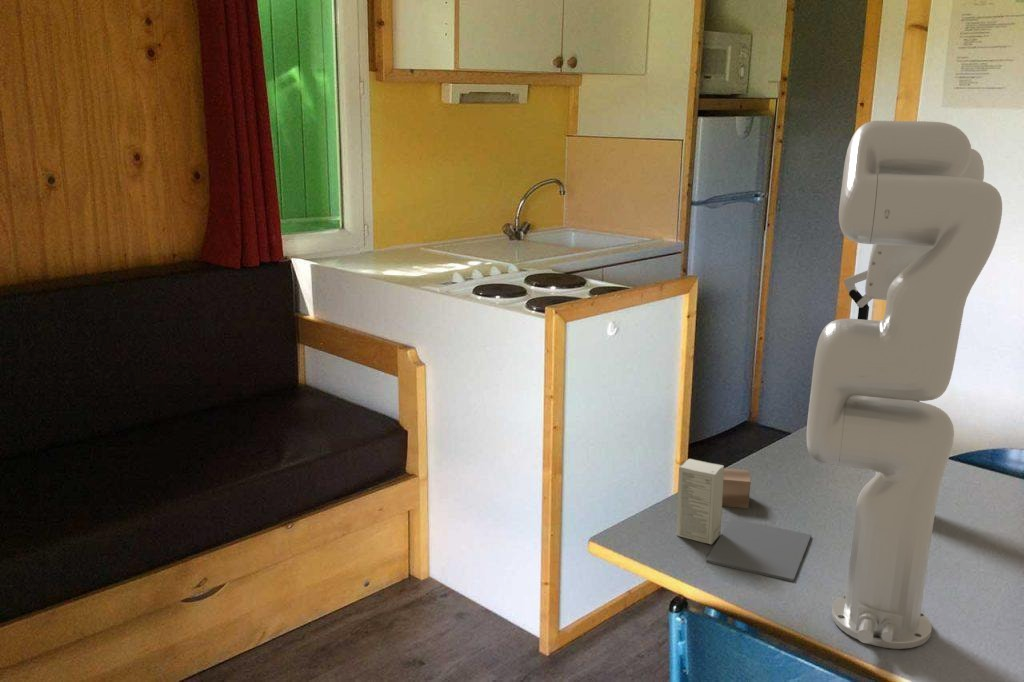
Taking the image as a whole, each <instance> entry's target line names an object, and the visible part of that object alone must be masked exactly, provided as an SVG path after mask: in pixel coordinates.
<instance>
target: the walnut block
mask: <svg viewBox="0 0 1024 682" xmlns="http://www.w3.org/2000/svg"><path fill="white" fill-rule="evenodd" d="M750 493H751V474H750V470H746V469H745V470H744V469H735V468H724V477H723V498H722V507H732V508H743V509H749V504H750Z"/></svg>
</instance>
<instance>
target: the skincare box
mask: <svg viewBox="0 0 1024 682" xmlns="http://www.w3.org/2000/svg"><path fill="white" fill-rule="evenodd" d="M724 469H725V466H724V465H723V464H719V463H712V462H707V461H703V460H698V459H694V458H688V459H686V460H685V461H684V462H683V463H682V464H680V465H679V466H678V484H677V485H678V489H677V490H678V491H677V513H676V515H677V520H676V536H678V537H682V538H684V539H688V540H693V541H696V542H699V543H704V544H709V545H712V544H714V543H715V541H717V540H718V539H719V537H720V536H721V534H722V532H721V531H722V517H723V516H722V513H723V512H722V511H723V506H722V498H723V477H724Z"/></svg>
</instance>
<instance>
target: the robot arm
mask: <svg viewBox="0 0 1024 682" xmlns="http://www.w3.org/2000/svg"><path fill="white" fill-rule="evenodd" d="M847 146H848V147H847V150H846V154H845V159H844V165H843V173H842V182H841V190H840V197H839V207H838V223H839V228H840V230H841V233H842V234H843V236H844V237H845V238H846V239H848V240H849V241H852V242H853V243H857V244H864V245H872V248H871V252H870V256H869V261H868V266H867V267H868V268H867V270H864V271H863V272H859V273H857V274H854V275H852V276H849V277H846V278H845V280H844V281H843V283H844V285H845V288H846V290H847V292H848V295H849V297H850V298H851V299H852V301H854V302H855V304H856V306H857V307H858V311H857V318H839V319H834V320H832V321H830V322H829V323H828V324H826V325H825V326H824V328H822V331H821V332H820V335H819V337H818V340H817V342H816V348H815V354H814V360H813V366H812V367H813V368H812V376H811V385H810V395H809V402H808V413H807V420H806V421H807V422H806V423H807V424H806V438H805V439H806V447H807V451H808V453H809V455H810V456H811V457H812V459H813V460H815V462H818V463H821V464H824V465H829V466H834V467H836V466H837V467H840V468H841V467H843V468H849V469H855V470H865V471H872V472H875V473H876V472H879V473H878V474H877V475H876V474H875V475H876V476H875V475H874V476H873V477H872V478H871V479H870V480H869V481H868V482H867V483H866V484H865V485H864V486H863V488H861V491H860V492H859V494H858V497H857V499H856V505H855V513H854V520H853V521H854V522H853V528H852V529H853V530H852V538H851V544H850V546H851V547H850V555H849V562H848V563H849V564H848V570H847V571H848V572H847V581H846V590H845V593H844V594H843V595H841V596H839V597H837V598H836V599H834V601H833V602H832V605H831V613H830V614H831V618H832V620H833V622H834V624H835V625H837V627H838V628H839V629H840V630H841V631H843V632H844V633H845V634H847V635H848V636H850V637H852V638H854V639H856V640H857V641H859V642H861V643H863V644H867V645H872V646H874V647H879V648H886V649H892V650H893V649H894V650H895V649H896V650H903V649H904V650H905V649H912V648H916V647H920V646H921V645H924V644H925V643H927V642H928V640H929V639H930V638H931V635H932V629H933V626H932V622H931V620H930V618H929V617H928V616H927V615H926V614H925V613H924V611H922V607H923V601H924V600H923V599H924V593H925V585H926V578H927V571H928V565H929V564H928V563H929V558H930V549H931V543H932V537H933V528H934V522H935V516H936V515H935V514H936V508H937V502H938V497H939V493H940V489H941V488H940V487H941V484H942V480H943V477H944V473H945V471H946V468H947V465H948V462H949V458H950V455H951V453H952V450H953V445H954V438H955V430H954V429H955V427H954V424H953V421H952V419H951V417H950V415H948V413H946V412H945V411H944V410H942V409H941V408H940V407H937V406H936V405H933V404H930V403H927V402H928V401H934V400H937V399H938V398H940V397H941V396H942V395H944V394H945V392H946V391H947V389H948V387H949V384H950V381H951V379H952V374H953V370H954V365H955V361H956V355H957V350H958V349H957V348H958V344H959V338H960V333H961V332H960V331H961V328H962V321H963V317H964V309H965V305H966V302H967V298H968V297H969V294H970V293H971V290H972V288H973V286H974V284H975V282H976V281H977V280H978V277H979V276H980V275H981V272H982V270H983V269H984V267H985V265H986V264H987V262H988V260H989V258H990V257H991V253H992V251H993V249H994V247H995V244H996V241H997V239H998V235H999V232H1000V227H1001V222H1002V215H1003V201H1002V196H1001V194H1000V192H999V190H998V189H997V188H996V187H995V186H993V185H992V184H990V183H988V182H986V181H984V177H985V165H984V161H983V157H982V155H981V154H980V152H978V150H976V149H974V148H972V144H971V142H970V140H969V138H968V136H967V135H966V134H965V132H963V130H962V129H960V128H959V127H957V126H955V125H952V124H951V123H950V124H949V123H945V122H942V121H925V120H924V121H923V120H920V121H919V120H914V121H913V120H871V121H867V122H865V123H863V124H862V125H861V126H860V127H858V128H857V130H856V131H855V132H854V133H853V135H852V137H851V139H850V141H849V144H848V145H847ZM863 281H865V288H864V289H865V290H864V291H865V293H864V295H862V294H861V293H860V292H859V291H858V290H857V287H856V284H857V283H859V282H863ZM873 299H874V300H881V301H885V302H886V304H885V310H884V317H883V319H881V320H873V319H869V313H870V312H869V311H870V306H869V302H871V300H873ZM918 401H920V402H918ZM926 401H927V402H926Z"/></svg>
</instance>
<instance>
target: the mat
mask: <svg viewBox="0 0 1024 682" xmlns="http://www.w3.org/2000/svg"><path fill="white" fill-rule="evenodd" d="M729 519H730V520H729V521H728V522H727V524H726V526H725V528H724V529H723V531H722V532H721V534H720V536H719V537H718V538H717V540H716V543H715V544H714V545H713V547H712V549H711V551H710V552H709V554H708V556H707V558H706V559H705V562H706V563H709V564H714V565H717V566H724V567H727V568H732V569H735V568H736V570H740V571H744V572H748V571H749V572H748V573H753V574H758V575H761V574H762V575H763V576H766V577H770V576H771V578H775V579H780V580H784V581H788V582H793V583H794V581H795V579H796V577H797V573H798V571H799V568H800V566H801V563H802V560H803V558H804V556H805V553H806V550H807V548H808V546H809V543H810V540H811V538H812V534H810V533H806V532H805V533H804V532H802V531H801V532H799V531H795V530H790V529H785V528H780V527H777V526H770V525H766V524H761V523H757V522H752V521H747V520H741V519H737V518H729Z"/></svg>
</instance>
